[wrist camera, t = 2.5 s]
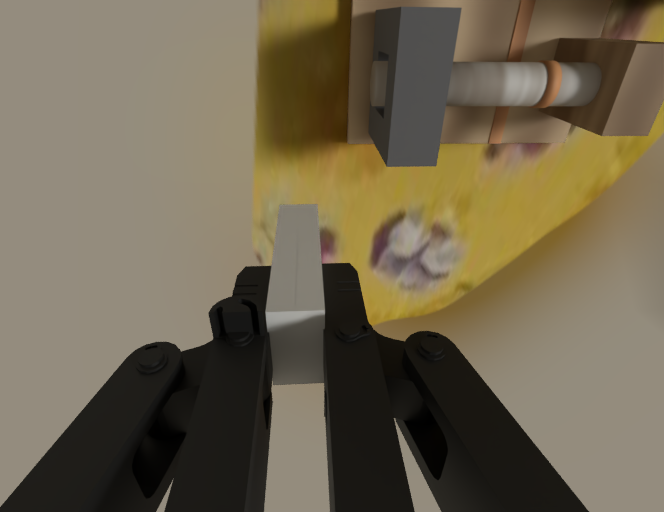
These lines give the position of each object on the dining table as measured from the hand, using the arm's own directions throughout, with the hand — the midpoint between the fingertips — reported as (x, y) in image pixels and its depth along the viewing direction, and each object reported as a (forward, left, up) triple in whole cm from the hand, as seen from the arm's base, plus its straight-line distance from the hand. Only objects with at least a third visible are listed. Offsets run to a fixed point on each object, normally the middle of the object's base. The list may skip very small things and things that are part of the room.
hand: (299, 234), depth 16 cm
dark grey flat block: (-4, +7, -16) cm, 18 cm away
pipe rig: (-4, +13, -18) cm, 22 cm away
